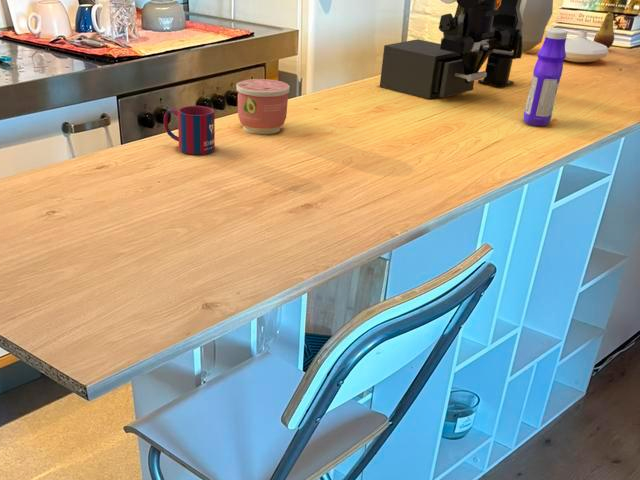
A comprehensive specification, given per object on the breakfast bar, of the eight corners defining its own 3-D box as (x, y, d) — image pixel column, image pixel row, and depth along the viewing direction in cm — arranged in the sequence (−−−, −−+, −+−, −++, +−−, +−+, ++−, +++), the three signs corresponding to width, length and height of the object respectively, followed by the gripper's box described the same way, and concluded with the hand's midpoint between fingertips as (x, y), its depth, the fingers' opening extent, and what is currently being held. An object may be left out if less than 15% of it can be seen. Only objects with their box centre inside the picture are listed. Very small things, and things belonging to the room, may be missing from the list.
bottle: (550, 128, 171) (573, 34, 160) (522, 126, 172) (544, 32, 160) (548, 119, 176) (570, 27, 165) (521, 117, 177) (542, 25, 166)
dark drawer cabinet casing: (461, 91, 194) (468, 49, 188) (429, 99, 187) (435, 56, 181) (412, 79, 202) (417, 39, 196) (379, 86, 195) (384, 45, 189)
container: (228, 123, 166) (228, 80, 161) (275, 119, 170) (277, 77, 164) (247, 138, 159) (248, 93, 154) (295, 133, 162) (298, 89, 157)
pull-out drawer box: (489, 94, 188) (496, 60, 184) (460, 101, 182) (466, 67, 178) (426, 79, 198) (431, 47, 194) (396, 85, 192) (400, 52, 188)
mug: (202, 157, 149) (201, 117, 144) (157, 147, 153) (155, 108, 148) (221, 148, 153) (221, 109, 149) (177, 139, 157) (176, 101, 153)
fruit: (614, 50, 238) (627, 2, 230) (605, 52, 235) (619, 4, 227) (596, 47, 241) (609, -1, 233) (587, 49, 238) (600, 1, 230)
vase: (538, 60, 224) (545, 31, 219) (557, 51, 234) (564, 23, 229) (595, 69, 217) (603, 39, 212) (612, 60, 227) (620, 31, 222)
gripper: (476, -6, 184) (462, 71, 194) (426, 1, 174) (414, 81, 184) (518, 1, 178) (502, 80, 188) (469, 8, 168) (455, 91, 178)
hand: (468, 82), depth 185 cm, fingers closed
